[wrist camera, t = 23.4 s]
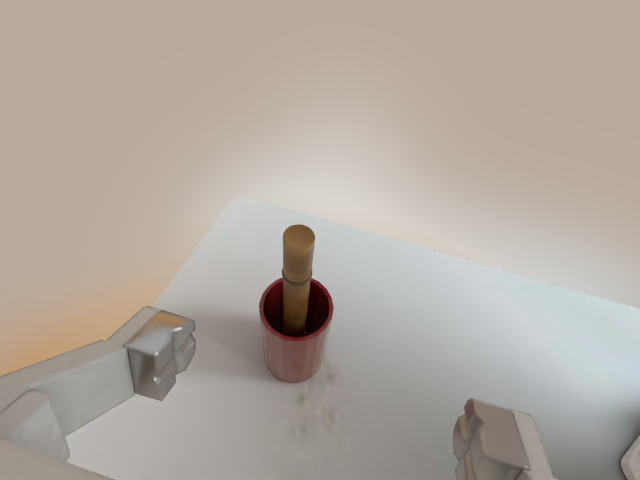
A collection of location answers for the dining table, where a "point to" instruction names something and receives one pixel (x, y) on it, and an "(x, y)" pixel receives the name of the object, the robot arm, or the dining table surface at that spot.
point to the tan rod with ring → (296, 278)
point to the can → (288, 352)
